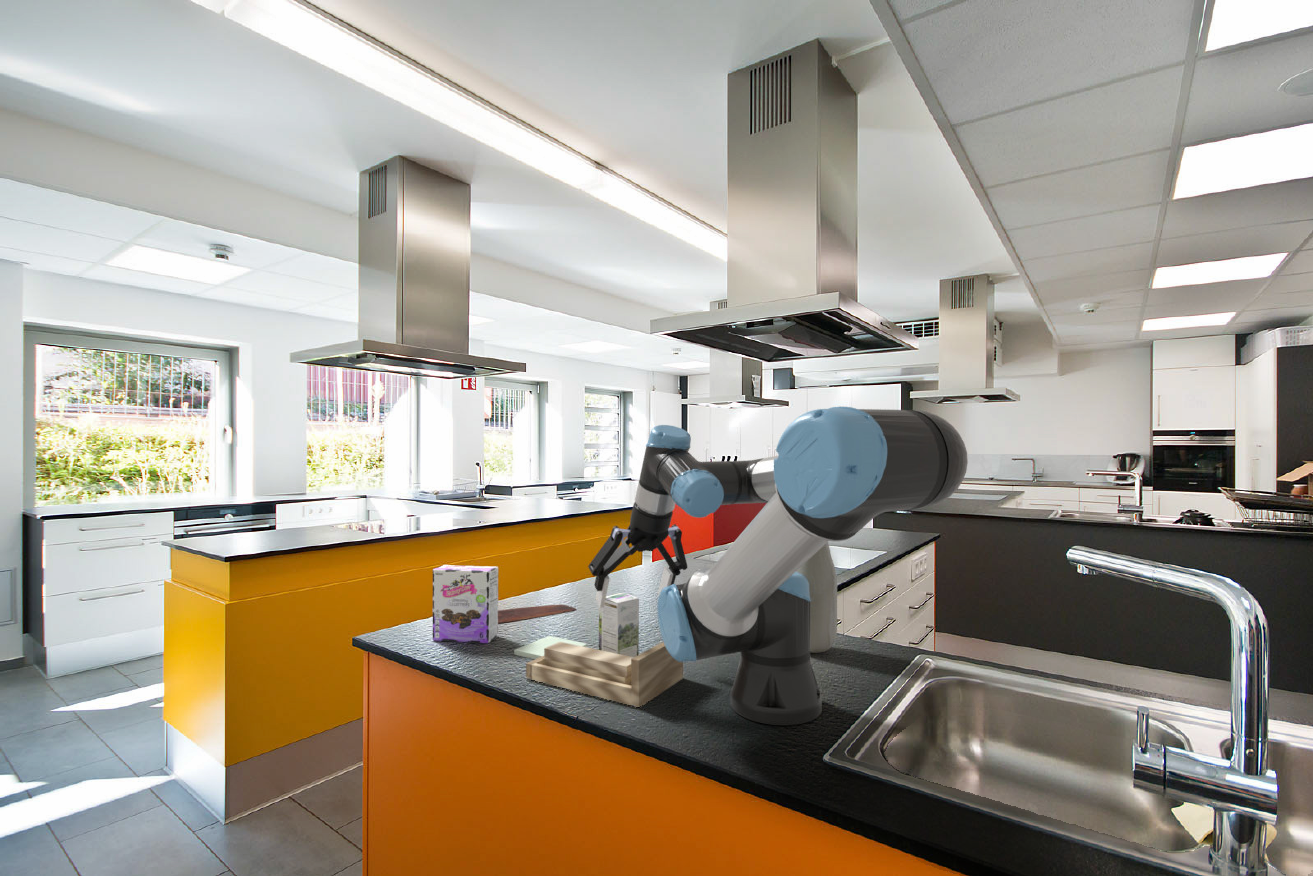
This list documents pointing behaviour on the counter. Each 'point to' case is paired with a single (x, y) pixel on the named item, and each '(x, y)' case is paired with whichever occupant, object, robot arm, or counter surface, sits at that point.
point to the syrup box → (619, 625)
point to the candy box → (465, 603)
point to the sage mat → (542, 647)
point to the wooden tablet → (531, 612)
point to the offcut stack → (589, 662)
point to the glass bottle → (821, 599)
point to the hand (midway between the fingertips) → (631, 600)
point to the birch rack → (647, 682)
